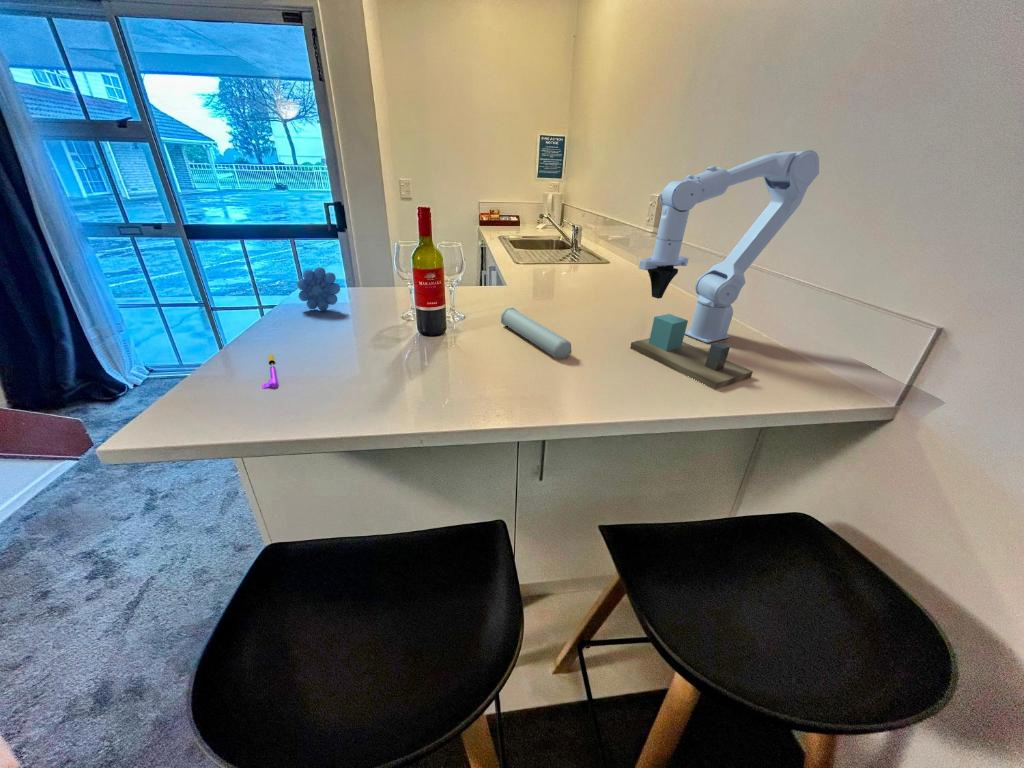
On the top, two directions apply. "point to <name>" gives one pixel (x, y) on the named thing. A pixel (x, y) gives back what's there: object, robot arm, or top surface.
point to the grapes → (318, 288)
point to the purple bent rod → (273, 381)
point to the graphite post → (717, 356)
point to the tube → (536, 333)
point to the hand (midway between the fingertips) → (656, 297)
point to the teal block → (668, 332)
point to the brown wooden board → (693, 364)
